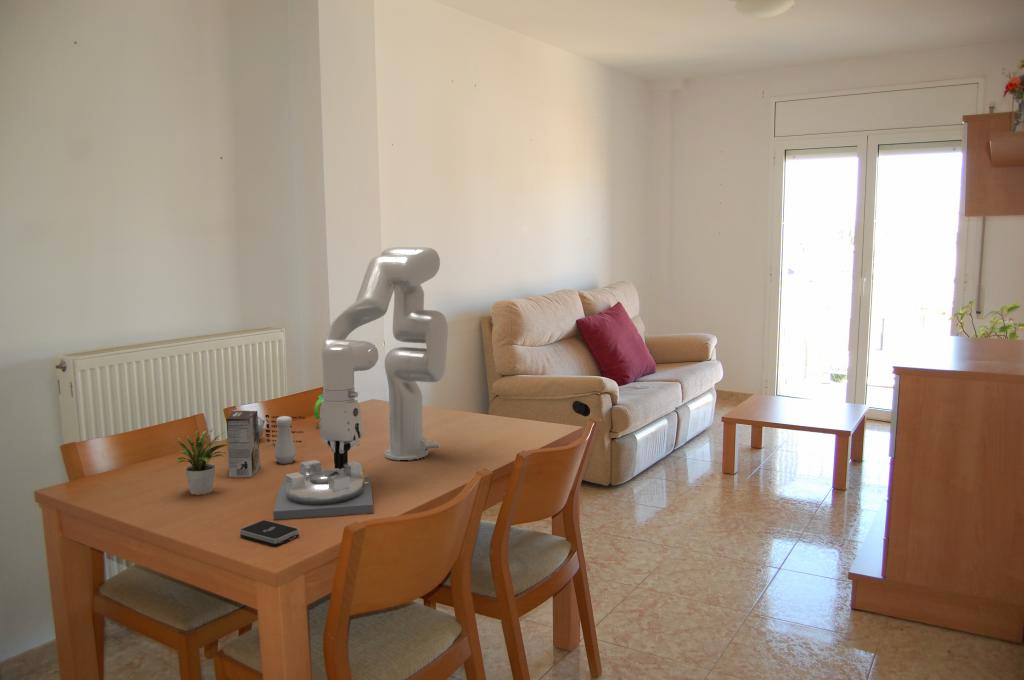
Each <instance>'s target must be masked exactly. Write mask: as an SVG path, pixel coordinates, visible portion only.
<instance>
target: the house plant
mask: <svg viewBox="0 0 1024 680" xmlns="http://www.w3.org/2000/svg"><path fill="white" fill-rule="evenodd" d="M213 429H214V428H212V429H211V430H210V431H209V432H208V433H207V429H206V428H205V429H204V430H203V431H202V432H201V434H199V427H197V428H196V430H195V431H196V432H195V442H194V441H193V440H192V439H191V437H190V436H188V435H187V434H185V435H184V437H185V438H187V442H188V443H189V446H190V447H191V449H190V447H189V446H188V444H186V443H185V442H184V441H183V439H181V438H178V437H177V439H178V440H180V441H178V440H176V439H175V440H174V442H177V443H178V444H179V445H180V446H181V447H182V448H183V449H181V450H179V453H181V454H184V455H186V456H187V457H188V458H186V457H183V456H179V457H177V458H176V464H177V465H178V464H180V463H182V462H183V463H184V462H185V460H186V461H187V462H188V463H190V464H191V465H188V466H186V467H185V469H184V472H185V476H186V480H187V484H188V488H189V493H190V494H191V493H192V494H191V495H193V494H203V495H206V494H205V493H208V494H210V493H212V492H213V490H214V489H213V488H214V481H215V473H216V465H215V464H213V463H209V462H210V460H212V459H214V458H217V457H223V458H225V455H227V453H226V451H216V450H219V449H221V448H224V447H226V446H227V447H228V445H232V444H228V443H227V444H218V445H215V446H213V445H214V444H216V443H217V440H223V439H224V437H222V438H221V437H220V436H222V435H223V434H225V432H222V433H220V434H218V435H216V436H215V437H214V438H213V439H212V441H211V442H210V443H208V444H207V446H206V445H205V444H206V441H207V439H208V437H209V435H210V434H211V433H212V432H213ZM180 436H181V437H183V435H180ZM219 437H220V438H219ZM205 446H206V447H205ZM224 454H225V455H224ZM211 491H212V492H211ZM209 492H210V493H209Z"/></svg>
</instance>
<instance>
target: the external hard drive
mask: <svg viewBox="0 0 1024 680" xmlns="http://www.w3.org/2000/svg"><path fill="white" fill-rule="evenodd" d="M299 530H300V528H298V527H294V526H290V525H286V524H283V523H282V524H281V523H278V522H274V521H271V520H266V519H262V520H259V521H257V522H254V523H252V524H250V525H246V526H245V527H242V528H240V529H239V535H240V537H241V538H243V539H245V538H246V540H250V541H254V542H257V543H260V544H265V545H267V546H271V547H275V548H276V547H278V546H280V545H283V544H285V543H288V542H290V541H292V540H295V539H296V538H298V537H299V536H300V531H299Z"/></svg>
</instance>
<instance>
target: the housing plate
mask: <svg viewBox="0 0 1024 680" xmlns="http://www.w3.org/2000/svg"><path fill="white" fill-rule="evenodd" d="M372 491H373V490H372V481H371V476H370V475H369V476H364V485H363V492H362V493H361V494H360V495H359V496H357V497H355V498H353V499H350V500H347V501H343V502H338V503H332V504H320V505H312V504H301V503H297V502H293V501H291V500H289V499H288V498H287V496H286V483H285V481H281V483H280V486H279V490H278V494H277V498H276V500H275V505H274V508H273V521H280V520H291V519H292V520H293V519H306V518H307V519H308V518H321V517H323V518H324V517H335V516H349V515H348V514H354V515H362V514H361V513H368V514H374V503H373V492H372Z"/></svg>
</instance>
